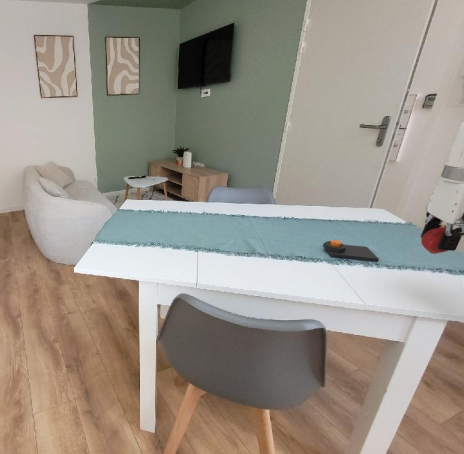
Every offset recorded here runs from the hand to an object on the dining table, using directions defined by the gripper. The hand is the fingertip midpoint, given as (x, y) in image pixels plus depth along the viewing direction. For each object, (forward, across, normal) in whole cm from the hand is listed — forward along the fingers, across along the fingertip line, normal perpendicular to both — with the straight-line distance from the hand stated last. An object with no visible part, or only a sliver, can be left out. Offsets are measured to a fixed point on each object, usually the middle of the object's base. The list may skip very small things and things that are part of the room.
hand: (437, 243), depth 74 cm
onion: (+3, 0, 0) cm, 3 cm away
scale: (+16, +22, +8) cm, 28 cm away
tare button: (+13, +22, +13) cm, 29 cm away
